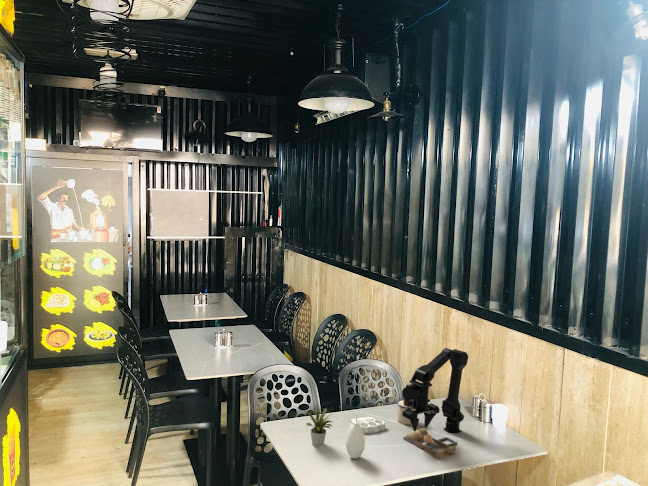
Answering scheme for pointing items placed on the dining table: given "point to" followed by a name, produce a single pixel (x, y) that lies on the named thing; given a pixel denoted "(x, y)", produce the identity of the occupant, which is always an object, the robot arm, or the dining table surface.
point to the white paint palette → (369, 424)
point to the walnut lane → (441, 453)
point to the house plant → (318, 428)
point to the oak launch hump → (417, 434)
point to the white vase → (355, 440)
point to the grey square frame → (448, 440)
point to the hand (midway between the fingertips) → (420, 429)
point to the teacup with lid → (400, 412)
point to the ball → (428, 439)
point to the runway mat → (431, 445)
